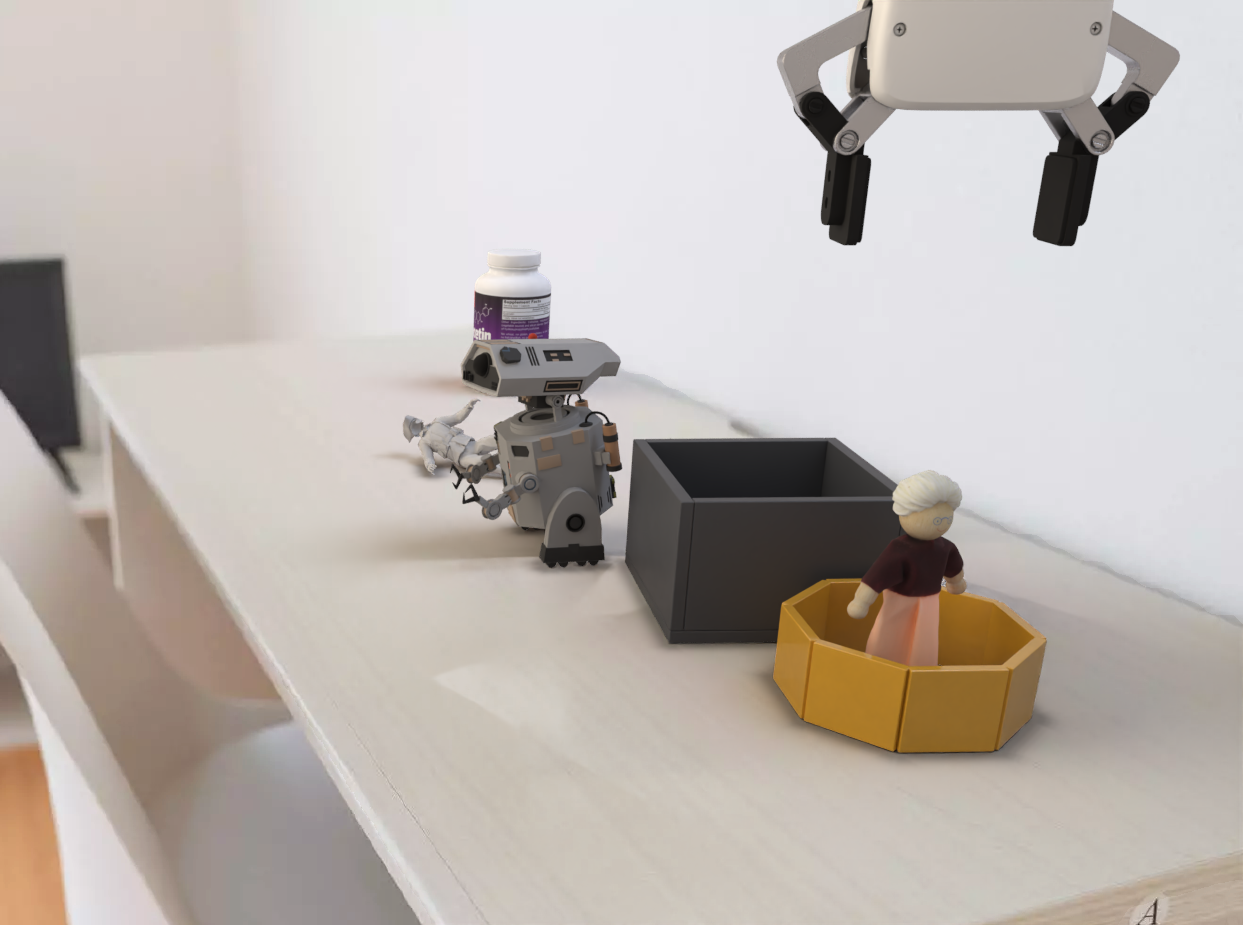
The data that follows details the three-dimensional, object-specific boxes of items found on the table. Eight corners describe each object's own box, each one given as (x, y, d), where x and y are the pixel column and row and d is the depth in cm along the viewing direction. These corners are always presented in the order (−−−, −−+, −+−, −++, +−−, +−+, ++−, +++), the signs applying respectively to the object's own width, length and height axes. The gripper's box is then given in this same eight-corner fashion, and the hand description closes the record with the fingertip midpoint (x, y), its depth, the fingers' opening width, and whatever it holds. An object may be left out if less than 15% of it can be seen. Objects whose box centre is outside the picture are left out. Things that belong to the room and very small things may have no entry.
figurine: (438, 530, 94) (441, 327, 89) (589, 523, 96) (601, 322, 91) (461, 574, 86) (465, 353, 81) (626, 566, 87) (641, 347, 82)
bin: (820, 560, 88) (835, 437, 85) (897, 641, 76) (918, 500, 73) (624, 562, 88) (633, 438, 85) (668, 643, 75) (680, 502, 72)
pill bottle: (466, 380, 141) (469, 247, 136) (538, 379, 142) (543, 246, 137) (478, 397, 134) (481, 257, 128) (554, 395, 134) (560, 256, 129)
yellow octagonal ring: (960, 648, 75) (972, 577, 73) (1068, 751, 63) (1085, 669, 62) (753, 650, 74) (761, 579, 73) (824, 754, 63) (835, 671, 61)
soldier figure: (495, 502, 104) (374, 439, 108) (500, 525, 108) (384, 464, 112) (544, 426, 106) (423, 367, 109) (547, 452, 110) (431, 394, 114)
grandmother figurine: (887, 730, 65) (923, 493, 61) (823, 702, 68) (854, 475, 64) (971, 691, 70) (1011, 466, 65) (908, 666, 72) (942, 450, 68)
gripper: (1173, -159, 57) (1099, 234, 63) (781, -154, 58) (745, 233, 64) (1272, -192, 50) (1178, 253, 56) (825, -186, 51) (780, 252, 57)
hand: (947, 242), depth 60 cm, fingers open, 9 cm apart
